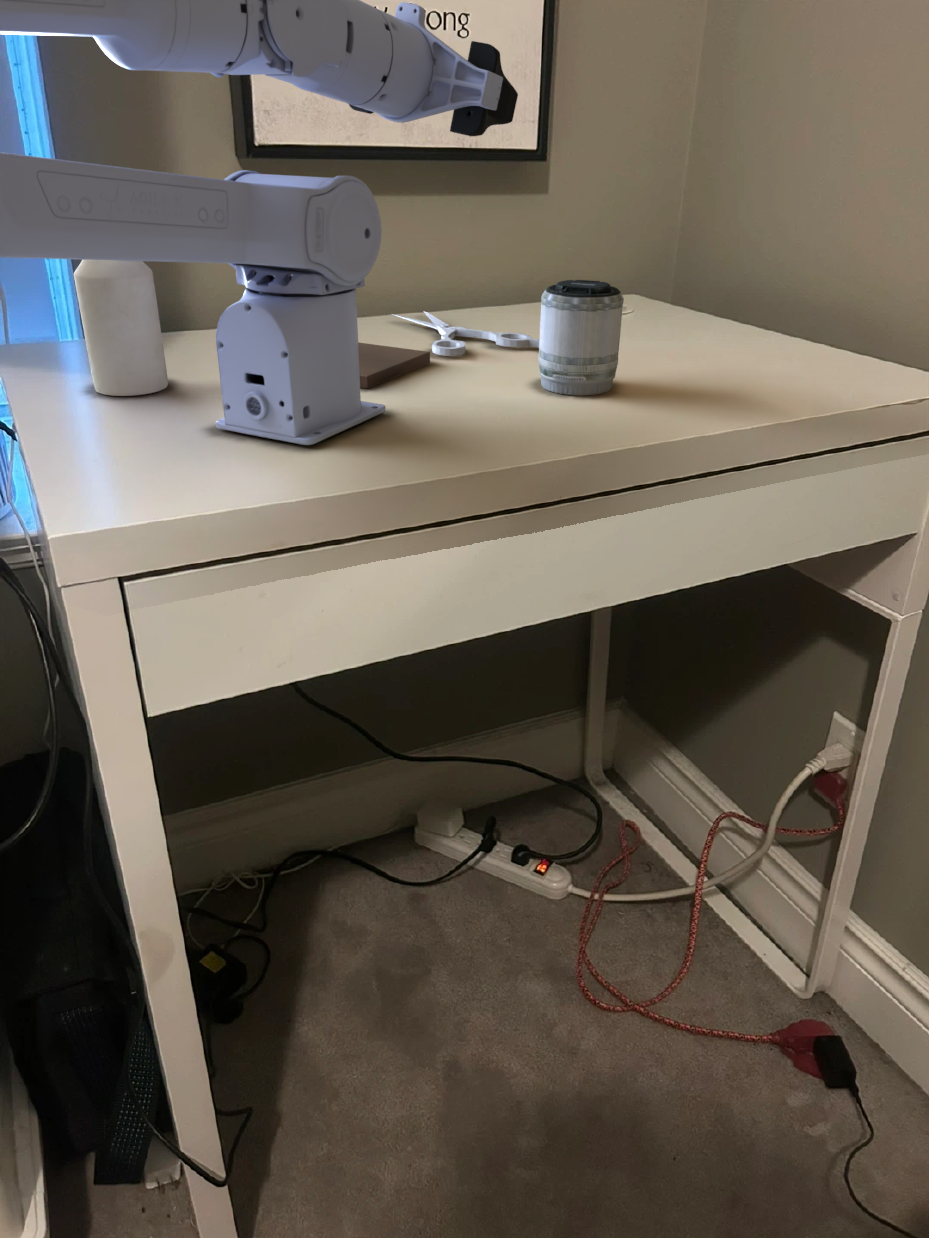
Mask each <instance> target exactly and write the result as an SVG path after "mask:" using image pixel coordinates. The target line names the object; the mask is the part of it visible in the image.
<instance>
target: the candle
mask: <svg viewBox="0 0 929 1238" xmlns="http://www.w3.org/2000/svg"><path fill="white" fill-rule="evenodd" d="M73 279H74V286H75V290H76V295H77V302H78V306H79V307H78V308H79V312H80V318H81V323H82V328H83V329H82V330H83V334H84V340H85V345H86V351H87V357H88V363H89V366H90V367H89V368H90V372H91V378H92V383H93V388H94V390H95V392H97V393H98V394H102V395H106V396H117V397H119V396H120V397H132V396H141V395H142V396H143V395H147V394H152V393H156V392H160V391H162V390H164V389H166V388H167V387H168V386H169V385H168V384H169V378H168V371H167V369H168V368H167V364H166V363H167V362H166V356H165V350H164V343H163V336H162V335H163V334H162V329H161V328H162V327H161V322H160V314H159V308H158V301H157V294H156V287H155V286H156V285H155V280H154V273H153V270H152V268H150V267H149V266H148V265H147V264H146V263H145V261H120V260H81V261H80V263H79V265H78V266H77V268H76V269H75V271H74V272H73Z"/></svg>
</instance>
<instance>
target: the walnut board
mask: <svg viewBox="0 0 929 1238" xmlns="http://www.w3.org/2000/svg"><path fill="white" fill-rule="evenodd" d="M358 349H359V373H360V389H367V390H368V389H370V388H372V387H375V386H377V385H378V386H379V385H381V384H382V383H384V382H387V381H390V380H392V379H395V378H397V377H399V376H403V375H405V374H406V373H409V372H412V371H414V370H416V369H419V368H422V367H424V366H426V365H429V364H431V351H426V350H425V351H424V350H419V349H412V348H403V347H396V346H389V345H380V344H375V343H374V344H373V343H367V342H359V341H358Z"/></svg>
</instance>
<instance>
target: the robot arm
mask: <svg viewBox="0 0 929 1238" xmlns="http://www.w3.org/2000/svg"><path fill="white" fill-rule="evenodd" d="M394 13H395V14H394V15H392V14H390V13H388V12H386V11H384V10H381V9H379V8H377V7H376V6H375V7H374V6H373V5H371V4H368V3H366V2H364V1H362V0H0V35H14V36H15V35H16V36H17V35H18V36H49V37H51V36H52V37H53V36H54V37H89V38H90V37H91V38H93V39H94V40H95V42H96V44H97V45H98V46H99V48H100V50H101V51H102V52H103V53H104V55H106V56H107V57H108V58H109V59H110V60H111V61H112V62H114V63H115V64H116V65H118V66H120V67H121V68H124V69H126V70H129V71H151V72H152V71H154V72H181V73H182V72H183V73H206V74H207V73H208V74H211V75H212V76H214V77H216V78H223V77H224V76H225V75H231V76H248V75H249V76H252V75H253V76H254V75H257V76H259V75H264V76H266V77H269V78H273V79H276V80H279V81H281V82H285V83H288V84H291V85H293V86H295V87H296V88H298V89H301V90H303V91H306V92H310V93H313V94H316V95H319V96H322V97H325V98H329V99H332V100H335V101H338V102H341V103H345V104H347V105H348V106H349V107H350V109H351V110H352V111H353V110H354V111H355V112H360V113H364V114H369V115H371V114H374V113H376V114H377V115H379V116H380V117H381V118H383V119H385V120H387V121H390V122H394V123H396V124H397V123H398V124H399V123H400V124H403V123H409V122H413V121H416V120H421V119H424V118H428V117H432V116H435V115H439V114H443V113H447V112H451V111H453V112H452V117H451V122H450V128H449V132H450V133H455V134H458V135H464V136H466V137H467V136H468V137H479V136H483V135H484V134H485V132H486V131H487V130H488V129H489V128H490V127H492V126H498V125H499V126H500V125H507V124H508V125H509V124H510V123H512V122H513V120H514V115H515V111H516V106H517V101H518V96H519V92H518V91H517V90H516V89H515V87H514V86H513V84H512V83H511V82H510V81H509V79H508V78H507V77H506V75H505V74H504V71H503V67H502V61H501V60H502V59H501V52H500V51H499V49H497V48H496V47H495V46H494V45H492V44H490V43H486V42H480V41H475V40H472V41H471V42H470V45H469V52H468V55H467V59H466V58H465V57H464V56H462V54H460V53H458V52H457V51H456V50H455V49H453V48H452V47H451V46H449V45H447V43H446V42H444V41H443V40H441V39H440V38H439V37H437V36H436V35H435V34H434V33H432V32H431V31H429V29H427V27H426V25H425V23H426V10H425V7H423V6H421V5H418V4H416V3H410V2H404V1H403V2H400V3H398V5H397V6H396V8H395V12H394ZM381 221H382V220H381V214H380V211H379V207H378V204H377V201H376V199H375V197H374V194H373V192H372V191H371V189H370V188H369V186H368V185H367V184H366V183H365V182H363V180H362V179H360V178H358V177H356V176H353V175H336V176H334V177H324V176H309V175H307V176H305V175H289V174H288V175H285V174H271V173H270V174H268V173H260V172H258V171H256V170H247V169H244V170H237V171H236V172H232V173H231V174H229V175H228V176H227V177H225V178H224V179H221V178H213V177H204V176H197V175H190V174H189V175H187V174H180V173H174V172H173V173H172V172H165V171H156V170H149V169H140V168H132V167H124V166H117V165H116V166H115V165H106V164H100V163H93V162H92V163H91V162H83V161H74V160H66V159H57V158H51V157H50V158H49V157H41V156H34V155H26V154H17V153H9V152H1V151H0V258H3V259H4V258H11V259H44V260H45V259H46V260H47V259H50V260H81V261H82V260H120V261H143V262H159V263H161V262H166V263H196V264H197V263H201V264H202V263H203V264H205V263H206V264H227V265H229V266H230V267H232V268H233V269H234V270H235V277H236V284H237V285H242V286H244V287H245V289H244V292H243V295H242V297H241V298H240V299H239V300H238V301H236V302H234V303H232V304H231V305H229V306H228V307H226V308H225V309H224V311H223V312H222V313H221V315H220V317H219V320H218V323H217V326H216V332H215V347H216V355H217V356H216V357H217V363H218V372H219V380H220V381H219V382H220V389H221V399H222V408H223V415H224V417H222V418H220V419H218V420H216V422H215V428H217V429H219V430H223V431H229V432H233V433H234V432H235V433H240V434H245V435H250V436H255V437H261V438H266V439H272V440H275V441H282V442H287V443H292V444H296V445H297V444H298V445H302V446H313V445H315V444H317V443H320V442H321V441H324V440H326V439H328V438H331V437H333V436H335V435H337V434H339V433H342V432H344V431H346V430H348V429H350V428H353V427H355V426H357V425H359V424H361V423H363V422H366V421H368V420H370V419H373V418H374V417H376V416H379V415H381V414H383V413H385V412H386V409H387V408H386V405H385V404H382V403H377V402H370V401H363V400H362V399H361V387H360V373H359V349H358V342H359V329H358V326H359V325H358V305H357V289H359V288H364V287H365V286H366V279H365V278H367V276H368V275H369V274H370V272H371V271H372V269H373V268H374V266H375V264H376V260H377V258H378V255H379V252H380V248H381V243H382V222H381Z"/></svg>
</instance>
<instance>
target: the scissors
mask: <svg viewBox="0 0 929 1238" xmlns="http://www.w3.org/2000/svg"><path fill="white" fill-rule="evenodd" d="M422 312H423V313H424V314H425V315H426V317H427V318H428V319H429V321H431V322H429V321H424V320H420V319H416V318H412V317H407V316H402V315H398V314H394V313H391V315H393V316H395V317H398V318H401V319H403V320H406V321H409V322H412V323H416V324H419V325H422V326H424V327H428V328H432V329H435V330H436V331H438V333H439V335H440V337H441V339H438V340H434V341H433V342H432V344H431V351H432V354H433V353H434V354H435V355H437V356H444V357H456V356H457V357H458V356H461V355H462V356H463V355H465V354H466V342H465V341H462V340H456V339H454V338H456V337H464V338H476V339H477V338H478V339H485V340H489V341H492V342H495V345H496V346H501V347H508V348H526V347H530V348H538V349H539V341H540V338H539V339H538V338H533V337H532V336H530V335H529V334H525V333H521V332H520V333H519V332H497V331H496V332H495V331H489V330H486V329H485V330H481V329H470V328H467V327H463V326H450V325H449V324H448V323H446V322H444V321H443V320H441V319H439V318H438V317H436V316H435V315H433V314H431V313H429V312H427V311H425V310H423V311H422Z"/></svg>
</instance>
